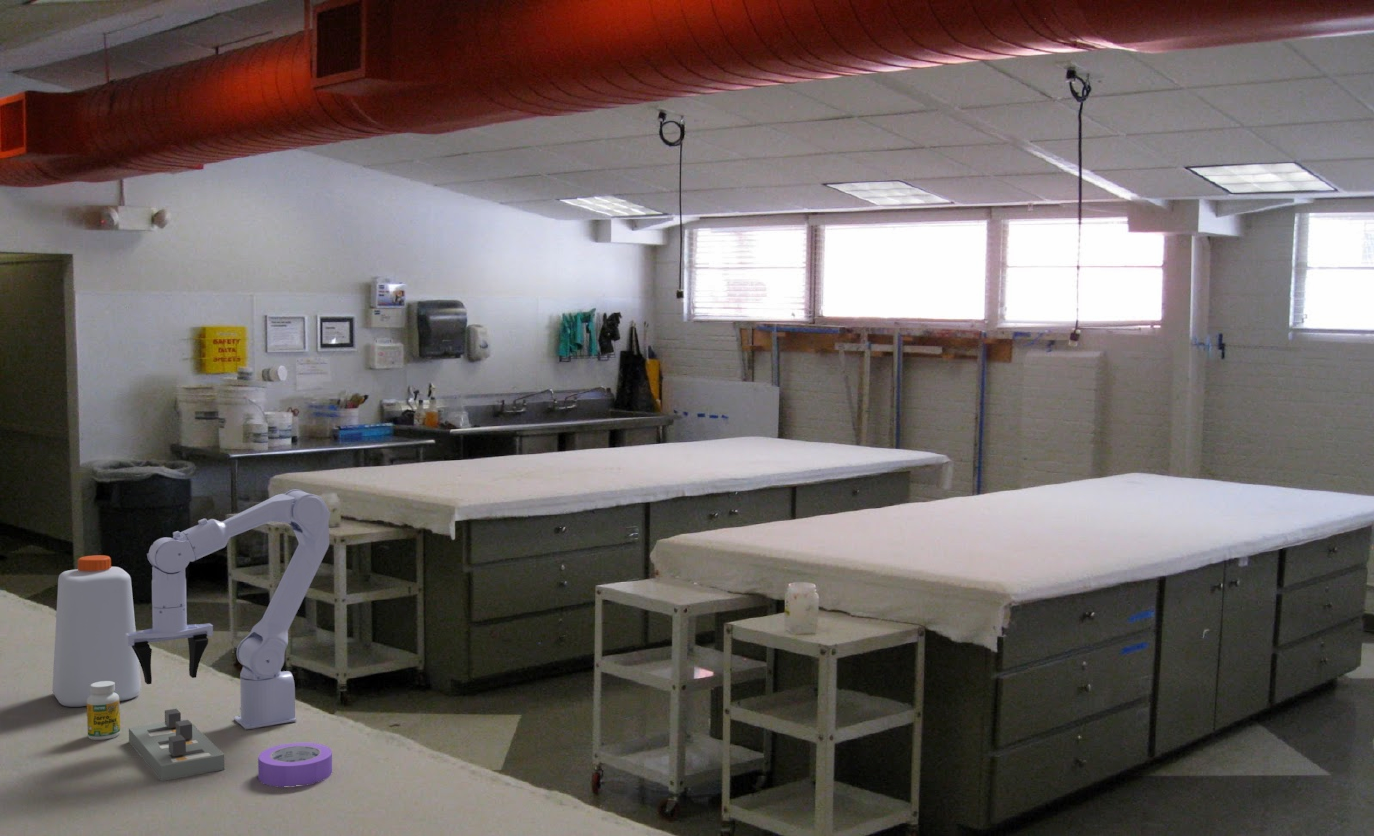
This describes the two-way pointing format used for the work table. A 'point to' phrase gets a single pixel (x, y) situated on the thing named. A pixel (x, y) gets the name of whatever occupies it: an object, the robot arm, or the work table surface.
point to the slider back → (172, 717)
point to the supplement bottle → (103, 711)
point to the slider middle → (184, 729)
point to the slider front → (177, 745)
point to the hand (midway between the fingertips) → (170, 679)
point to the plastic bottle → (94, 632)
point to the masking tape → (294, 764)
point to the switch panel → (156, 754)
